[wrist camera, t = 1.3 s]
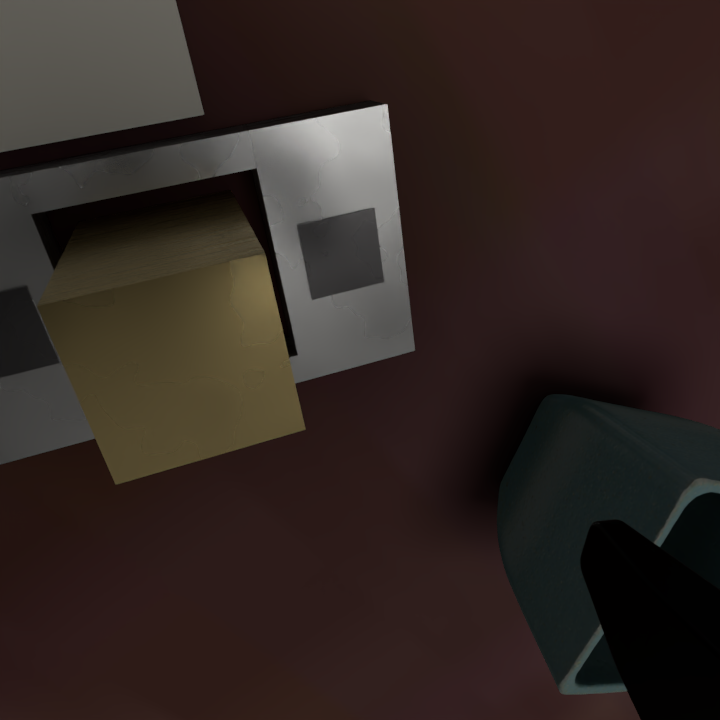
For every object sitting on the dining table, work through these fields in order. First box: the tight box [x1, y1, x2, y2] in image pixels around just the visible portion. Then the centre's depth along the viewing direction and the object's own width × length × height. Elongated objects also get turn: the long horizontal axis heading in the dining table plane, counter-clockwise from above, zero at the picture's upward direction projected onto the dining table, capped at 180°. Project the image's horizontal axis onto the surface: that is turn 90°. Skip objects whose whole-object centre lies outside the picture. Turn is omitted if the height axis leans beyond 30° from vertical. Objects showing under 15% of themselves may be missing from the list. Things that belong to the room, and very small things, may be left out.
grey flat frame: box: [0, 100, 415, 464], centre depth 18 cm, size 14×8×2 cm, turn 98°
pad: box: [0, 0, 204, 152], centre depth 15 cm, size 6×6×1 cm
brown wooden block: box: [37, 190, 306, 485], centre depth 16 cm, size 4×4×7 cm
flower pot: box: [497, 394, 720, 694], centre depth 24 cm, size 9×9×9 cm
